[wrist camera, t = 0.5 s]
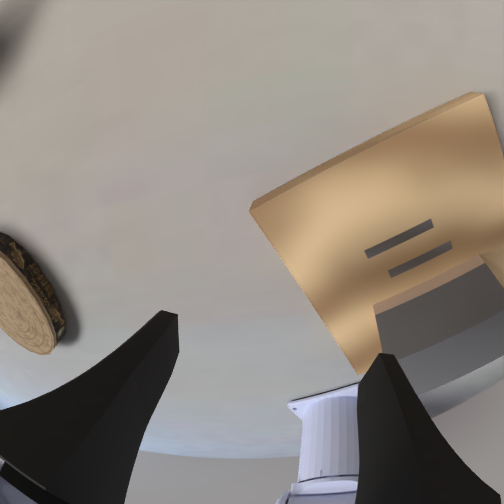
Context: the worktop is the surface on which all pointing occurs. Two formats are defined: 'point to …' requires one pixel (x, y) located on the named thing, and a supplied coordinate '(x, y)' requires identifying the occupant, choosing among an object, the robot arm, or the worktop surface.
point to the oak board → (391, 217)
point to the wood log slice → (28, 301)
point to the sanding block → (444, 325)
